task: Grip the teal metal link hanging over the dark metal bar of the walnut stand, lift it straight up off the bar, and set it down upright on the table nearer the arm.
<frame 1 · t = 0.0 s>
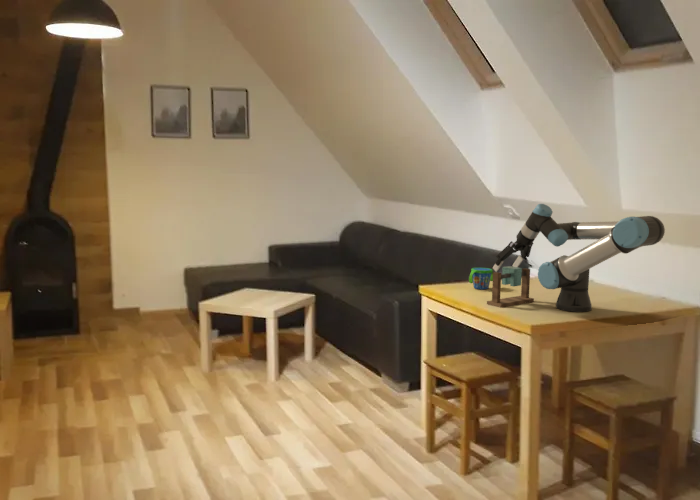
hand: (504, 268, 336), 15 cm above the table, tool tilted 35°, fingers open, 13 cm apart
link: (511, 284, 333), point 8 cm above the table, touching stand
snack cup: (481, 289, 369), on the table
stand: (510, 303, 334), on the table
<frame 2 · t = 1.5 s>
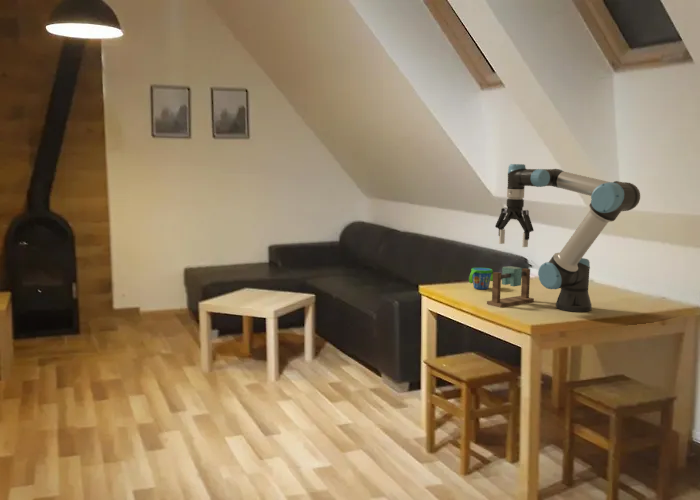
hand: (513, 245, 330), 27 cm above the table, tool pointing down, fingers open, 13 cm apart
nothing on the table moved.
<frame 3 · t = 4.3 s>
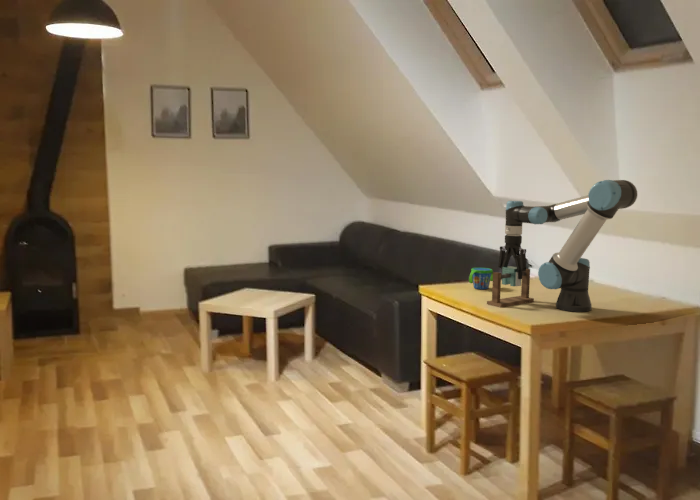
hand: (511, 284, 333), 9 cm above the table, tool pointing down, fingers closed on link, 7 cm apart
link: (511, 284, 333), point 9 cm above the table, touching gripper, stand
everything else where it was.
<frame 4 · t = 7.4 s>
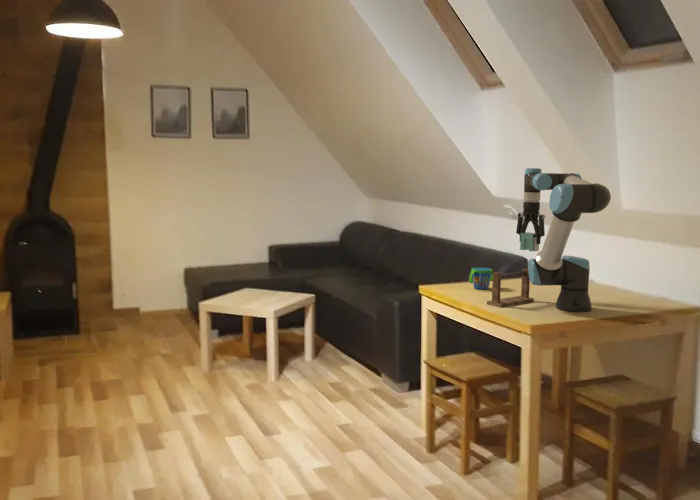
hand: (529, 250, 342), 23 cm above the table, tool pointing down, fingers closed on link, 7 cm apart
link: (529, 250, 342), point 23 cm above the table, touching gripper
everything else where it was.
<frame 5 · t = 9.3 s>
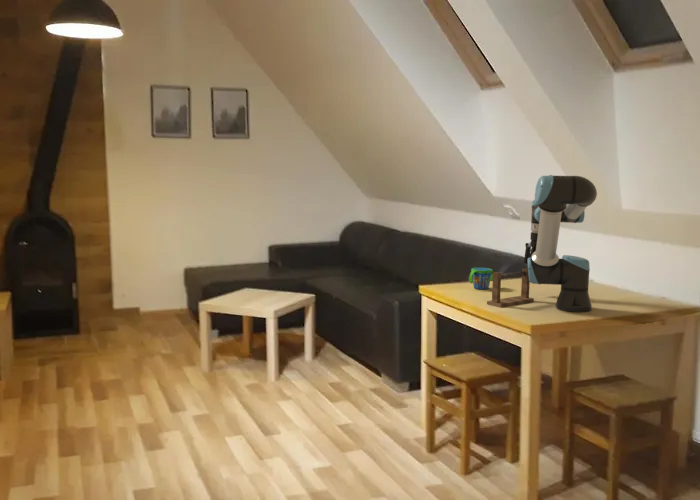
hand: (536, 279, 350), 8 cm above the table, tool pointing down, fingers closed on link, 7 cm apart
link: (536, 279, 350), point 8 cm above the table, touching gripper
everything else where it was.
when the fingers open (2 cm above the table, at t = 10.7 s): link drops 2 cm, on the table.
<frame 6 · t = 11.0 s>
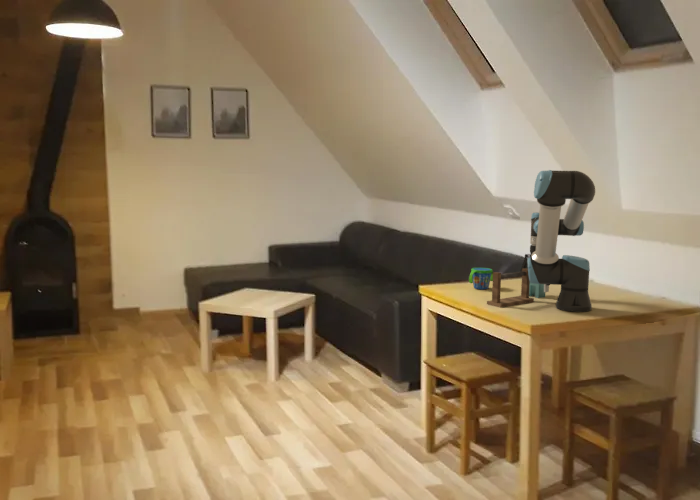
hand: (536, 289, 350), 3 cm above the table, tool pointing down, fingers open, 11 cm apart
link: (535, 296, 351), on the table
everything else where it was.
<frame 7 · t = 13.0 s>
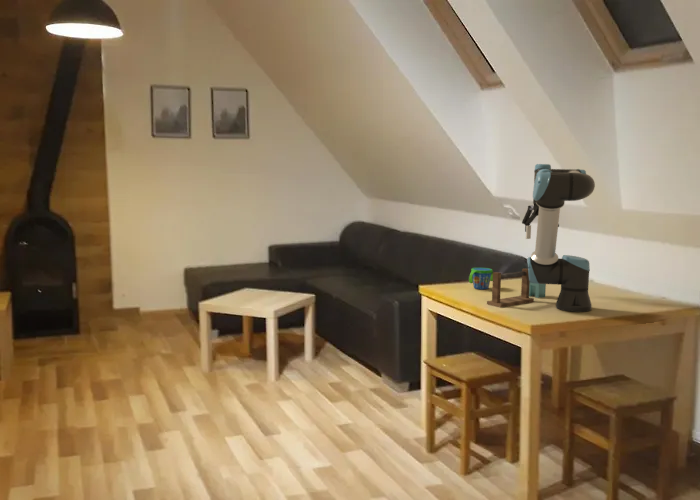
hand: (539, 240, 352), 27 cm above the table, tool pointing down, fingers open, 13 cm apart
nothing on the table moved.
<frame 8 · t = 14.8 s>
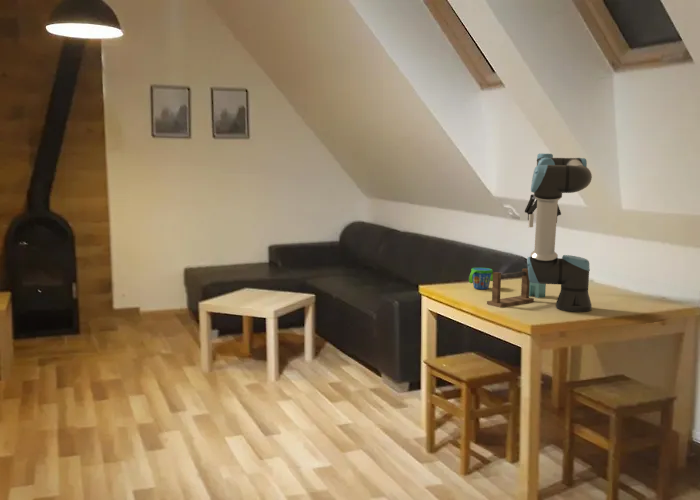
hand: (541, 228, 359), 32 cm above the table, tool pointing down, fingers open, 13 cm apart
nothing on the table moved.
at the end: link inside the target area (0.1 cm from its centre), on the table; link touching table; link tilted 0° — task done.
